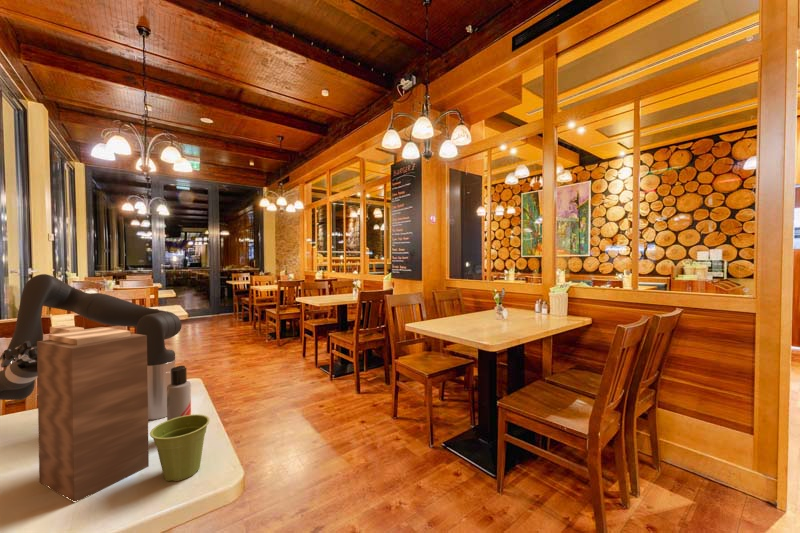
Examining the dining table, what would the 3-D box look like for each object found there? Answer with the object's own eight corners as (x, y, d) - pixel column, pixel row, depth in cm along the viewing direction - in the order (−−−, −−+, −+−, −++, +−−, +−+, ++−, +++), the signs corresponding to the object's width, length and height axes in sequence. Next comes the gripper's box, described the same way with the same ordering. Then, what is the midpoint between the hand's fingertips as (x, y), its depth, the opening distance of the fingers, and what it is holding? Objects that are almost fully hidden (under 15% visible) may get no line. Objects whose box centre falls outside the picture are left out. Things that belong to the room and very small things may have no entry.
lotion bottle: (195, 433, 99) (195, 365, 98) (177, 443, 93) (176, 371, 93) (181, 430, 101) (180, 363, 100) (162, 440, 95) (161, 369, 95)
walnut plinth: (39, 482, 77) (36, 341, 77) (112, 451, 90) (111, 330, 89) (74, 503, 70) (72, 348, 70) (148, 466, 83) (146, 335, 83)
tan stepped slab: (29, 335, 83) (29, 329, 83) (82, 328, 92) (82, 322, 92) (77, 345, 73) (77, 337, 73) (130, 335, 82) (130, 329, 82)
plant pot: (188, 454, 88) (187, 411, 88) (221, 464, 83) (220, 418, 83) (138, 481, 77) (137, 432, 77) (173, 495, 73) (172, 442, 72)
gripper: (-13, 359, 89) (8, 332, 83) (59, 347, 102) (83, 323, 96) (-7, 386, 87) (15, 361, 81) (66, 370, 100) (90, 347, 94)
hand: (52, 340), depth 89 cm, fingers open, 8 cm apart
